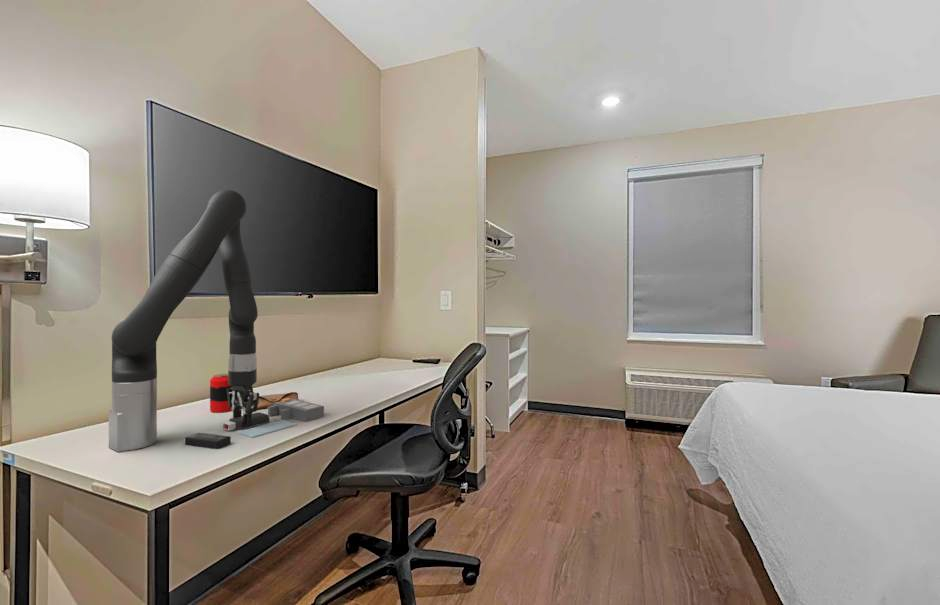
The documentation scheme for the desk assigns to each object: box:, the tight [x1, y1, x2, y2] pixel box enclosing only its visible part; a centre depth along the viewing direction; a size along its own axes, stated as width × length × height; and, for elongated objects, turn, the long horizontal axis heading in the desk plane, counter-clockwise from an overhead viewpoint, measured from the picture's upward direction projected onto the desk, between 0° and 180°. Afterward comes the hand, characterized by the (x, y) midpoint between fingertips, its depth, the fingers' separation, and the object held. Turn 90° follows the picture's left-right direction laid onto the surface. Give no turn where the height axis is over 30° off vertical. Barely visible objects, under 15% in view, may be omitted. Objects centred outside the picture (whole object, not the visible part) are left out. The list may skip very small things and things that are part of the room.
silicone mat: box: [238, 419, 297, 439], centre depth 123 cm, size 14×7×1 cm, turn 148°
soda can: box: [209, 373, 233, 414], centre depth 142 cm, size 8×8×12 cm
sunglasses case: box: [245, 391, 299, 411], centre depth 149 cm, size 18×7×7 cm, turn 122°
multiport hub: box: [184, 432, 232, 450], centre depth 110 cm, size 4×11×2 cm, turn 76°
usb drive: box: [222, 411, 270, 431], centre depth 126 cm, size 5×12×3 cm, turn 148°
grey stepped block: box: [267, 398, 325, 423], centre depth 137 cm, size 10×17×4 cm, turn 58°
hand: (242, 424), depth 125 cm, fingers closed on usb drive, 5 cm apart
